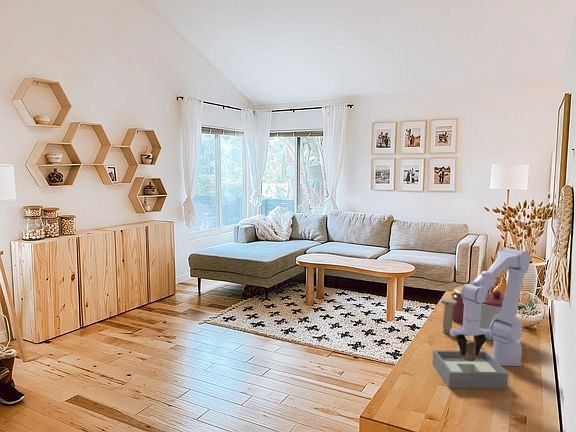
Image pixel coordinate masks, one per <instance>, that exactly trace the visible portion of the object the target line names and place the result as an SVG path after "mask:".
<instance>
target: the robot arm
mask: <svg viewBox="0 0 576 432" xmlns="http://www.w3.org/2000/svg"><path fill="white" fill-rule="evenodd" d="M530 263H531V256H530V254H529V252H528V251H527V250H520V249H515V248H509V247H505V246H502V247H500V248H499V249H498V251H497V252H496V259H495V260H494V262H493V263H492V264H491V266H490V267H489V268H488V270H484V271H481V272H480V274H479V275H477V277H476V278H474V279H473V281H471V283H466V284H467V285H465V284H464V285H465V286H464V285H463V286H464V287H463V289H462V292H461V296H462V298H463V304H464V314H463V324H462V327H458V328H451V329H450V334H449V335H450V336H451V337H455V338H456V341H457V343H458V347H459V351H460V354H461V355H462V356H465V347H466V343H467V340H468V339H467V338H466V336H468V337H469V336H471V337H472V336H473V341H475V342H476V356H478V355H479V352H480V351H481V348H482V347H483V345H484V344H485V343H486V342H487V338H486V337H485V335H488V336H492V337H493V338H494V341H493V346H492V347H493V348H492V349H493V350H492V355H491V356H492V357H493V358H494V359H495V360H496V361H497V362H498V363H499V365H500V366H501V367H503V366H507V367H512V366H513V367H521V366H522V363H521V362H522V351H523V349H522V343H521V342H520V338H521V335H522V322H521V321H520V320H519V319H518V318H517V312H516V310H517V311H518V307H517V305H518V302H519V300H520V295H521V291H522V286H523V281H524V277H525V274H527V273H528V271H529V268H530V267H529V266H530ZM505 270H507V272H508V277H507V282H506V285H505V291H504V294H503V295H504V299H503V304H502V308H501V313H499V314H497V315H495V316H494V317H493V320H492V322H491V324H490V329H483V328H480V321H481V308H482V302H484V300H485V298H486V295H487V294H488V293H489V290H490V289H491V288H493V286H494V285H495V284H496V282H497V280H496V278H497V277H498V276H499V275H501V273H502V272H504V271H505ZM515 314H516V316H515ZM501 320H502V321H501ZM503 321H505V322H503ZM506 322H508V323H506ZM509 323H510V324H509Z"/></svg>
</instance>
